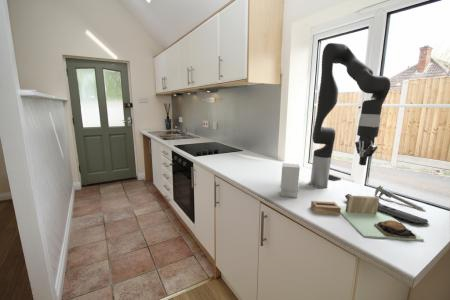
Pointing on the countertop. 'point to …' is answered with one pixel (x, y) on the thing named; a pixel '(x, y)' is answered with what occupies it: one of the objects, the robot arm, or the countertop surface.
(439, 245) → the countertop surface
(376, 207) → the board
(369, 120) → the robot arm
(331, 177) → the phone
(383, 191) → the caliper
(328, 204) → the stand
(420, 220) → the knife
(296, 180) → the skincare box
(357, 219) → the mat
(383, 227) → the bread roll
